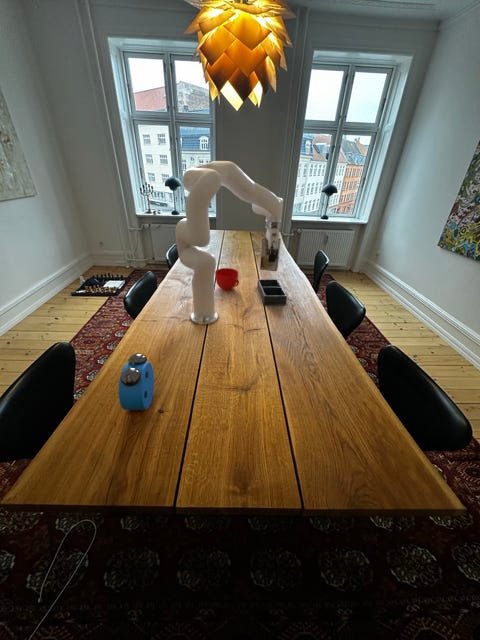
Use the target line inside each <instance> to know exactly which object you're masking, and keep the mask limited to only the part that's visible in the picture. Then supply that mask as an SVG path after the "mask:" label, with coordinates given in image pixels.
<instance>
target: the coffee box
mask: <svg viewBox="0 0 480 640" xmlns="http://www.w3.org/2000/svg"><path fill="white" fill-rule="evenodd" d="M281 241H282V238H280V237H279V243H278V249H276V250H275V251H276V252H275V262H269V261H268V260H269V254H270V249H269V248H268V240H267V238H266V236H263V238H262V239H261V249H260V266H259V270H260V271H268V272H269V271H270V272H277V271H278V268H279V259H280V250H281ZM271 248H273V246H272V247H271ZM271 251H272V250H271Z"/></svg>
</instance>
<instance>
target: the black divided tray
mask: <svg viewBox="0 0 480 640" xmlns="http://www.w3.org/2000/svg"><path fill="white" fill-rule="evenodd" d="M256 288H257V290H258V293H259V296H260V299H261V302H262V304H263V306H285V305H287V300H288V295H287V294H286V292H285V290H284V289H283V286H282V285H281V283H280V281H279V280H278V279H277V278H275V279H273V278H271V279H270V278H268V279H266V278H265V279H264V278H263V279H262V278H261V279H259V278H257V285H256Z"/></svg>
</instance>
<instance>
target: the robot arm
mask: <svg viewBox="0 0 480 640" xmlns="http://www.w3.org/2000/svg"><path fill="white" fill-rule="evenodd" d="M182 185H183V187H184V188H185V190H186V191H187V192H189V193H188V195H187V197H186V200H185V204H184V205H185V206H184V211H185V218H183V219H180V220H179V221H178V222H177V223H176V226H175V231H174V236H175V242H176V243H175V244H176V249H177V254H178V258H179V261H180V263H181V264H182V265H183V266H184V267H185V268H188V269H190V270H192V271H193V275H192V278H191V291H192V307H193V312H192V313H191V314H190V320H191V321H192V322H193V323H195V324H198V325H200V326H201V325H209V324H213V323H215V322H216V321H218V319H219V314H218V313H217V311H216V310H215V271H216V266H217V259H216V256H215V255H214V254H213V252H210V251H209V250H207V249H204V248H206V247H207V246H208V245H209V244H210V242H211V228H210V227H211V226H210V216H209V209H210V204H211V202H212V200H213V198H214V197H215V196H216V194H218V192H219V191H220V189H221V186H222V187H224V188H226V189H228V190H229V191H230V192H231V193H232V194H233V195H234V196H236V197H237V198H238V199H239V200H241V201H243V202H246V203H248V204H250V205H251V210H252V212H253V213H254V214H256V215H259V216H265V229H266V235H265V237H266V238H267V240H268V248H269V249H270V254H269V260H268V261H269V262H275V252H276V251H275V250H276V249H278V243H279V238H280V229H281V226H282V216H283V208H284V199H283V198H282V197H278V196H277V195H276V194H275V193H274V192H272V191H271V190H269V189H268V188H266V187H264V186H262V185H260V184H259V183H257V182H255V181H254V180H253V179H251V178H250V177H249V176H248V174H246V173H245V172H244V171H243V170H242V169H241V168H240V167H239V166H238V165H237V164H236V163H234V162H233V161H228V160H214V161H210V162H206V163H203V164H199V165H196V166H193V167H190V168H188V169H186V170H185V172H184V173H183V176H182ZM272 246H273V248H271V247H272ZM271 250H272V251H271Z"/></svg>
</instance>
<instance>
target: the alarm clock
mask: <svg viewBox="0 0 480 640" xmlns="http://www.w3.org/2000/svg"><path fill="white" fill-rule="evenodd" d="M119 375H120V376H119V381H118V401H119V405H120V406H121V408H122V409H123V410H124V411H130V413H131V412H133V411H140V410H142V411H143V410H148V409H149V407H150V406H151V404H152V401H153V397H154V390H155V372H154V367H153V364H152V363H151V362H150V361H148V357H147V356H146V355H145V354H143V353H139V352H137V353H134V354H131V355H130V356H129V358H128V361H127V363H125V364H124V366H123V367H122V370H121V372H120V374H119Z"/></svg>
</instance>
